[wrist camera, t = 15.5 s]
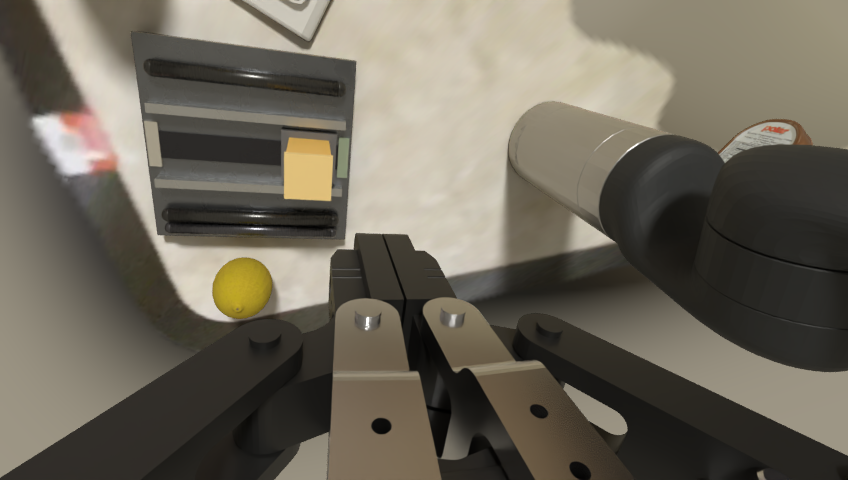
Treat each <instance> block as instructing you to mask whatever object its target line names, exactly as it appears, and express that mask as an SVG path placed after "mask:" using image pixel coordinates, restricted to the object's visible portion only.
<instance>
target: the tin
mask: <svg viewBox="0 0 848 480" xmlns="http://www.w3.org/2000/svg"><path fill="white" fill-rule="evenodd" d="M776 144H792V145H813V143H812V140H811V138H810V137H809V136H808V135H807V134H806V132H805V131H804V129H803V128H802V126H801V125H800V124H798V123H797V122H795V121H792V120H786V119H772V120H766V121H762V122H759V123H757V124H754V125H752V126H750V127H748V128H746V129H744V130H743V131H741V132H740V133H738V134H737V135H736V136H735V137H733V138H732V139H731V140H730V141H729V142H728V143H727V144H726V145H725V146H724V147H723V148H722V149H721V150H720V151H719V152H718V154H719V155H720V156H721V158H722V159H723V161H724V163H726V162H727V161H728V160H729V159H730V158H731V157H732V156H734V155H736V154H737V153H739V152H741V151H744V150H747V149H750V148H754V147H759V146H766V145H776Z"/></svg>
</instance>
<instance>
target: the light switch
mask: <svg viewBox="0 0 848 480" xmlns="http://www.w3.org/2000/svg"><path fill="white" fill-rule="evenodd" d="M242 1H244V2H245V3H247V4H249V5H250V6H252V7H253V8H255V9H257V10H258V11H260V12H261V13H263V14H265V15H266V16H268V17H269V18H271V19H272V20H274V21H276V22H277V23H279V24H280V25H282V26H284V27H285V28H287V29H288V30H290V31H292V32H293V33H295V34H296V35H298V36H300V37H301V38H303V39H304V40H306V41H310V40H311V39H312V37H313V35H314V33H315V31H316V29H317V27H318V25H319V23H320V21H321V19H322V17H323V14H324V12H325V10H326V8H327V6H328V4H329V2H330V0H242Z"/></svg>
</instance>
